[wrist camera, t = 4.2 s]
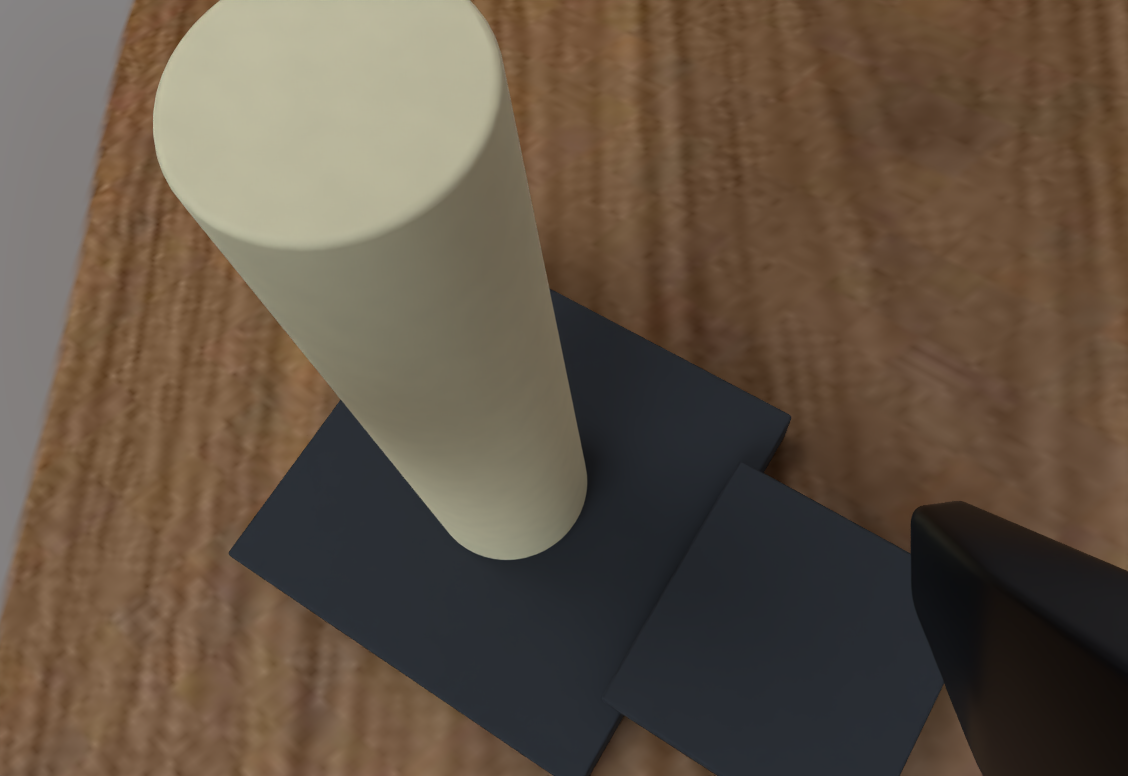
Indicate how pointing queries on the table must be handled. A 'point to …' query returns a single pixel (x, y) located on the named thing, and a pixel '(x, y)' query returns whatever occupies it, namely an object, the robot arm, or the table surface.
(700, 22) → the table surface
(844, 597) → the tongue pad
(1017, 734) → the robot arm
